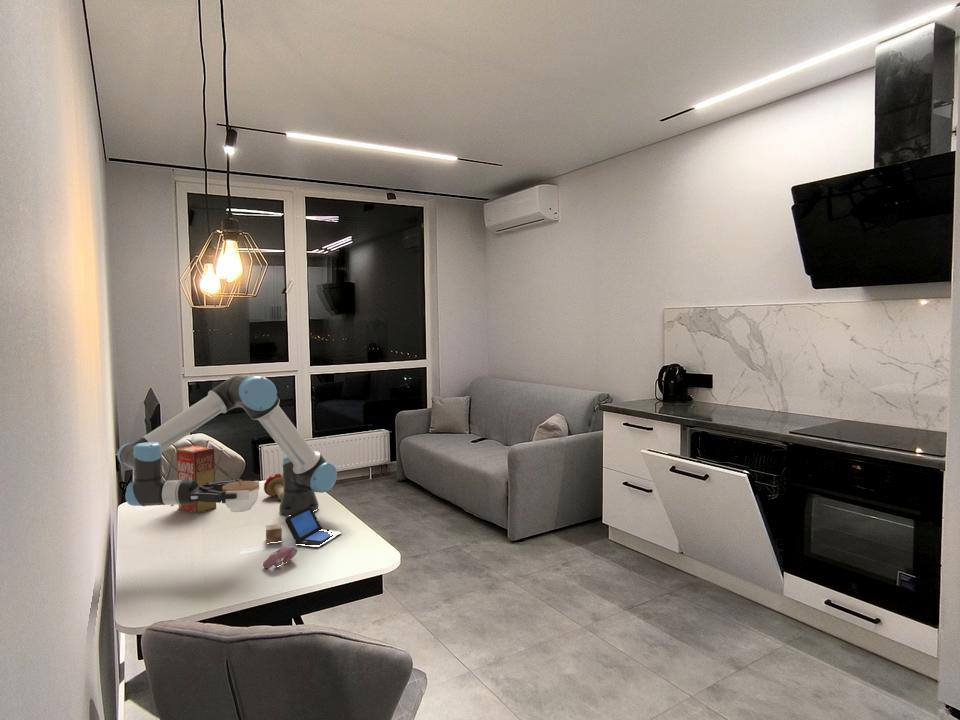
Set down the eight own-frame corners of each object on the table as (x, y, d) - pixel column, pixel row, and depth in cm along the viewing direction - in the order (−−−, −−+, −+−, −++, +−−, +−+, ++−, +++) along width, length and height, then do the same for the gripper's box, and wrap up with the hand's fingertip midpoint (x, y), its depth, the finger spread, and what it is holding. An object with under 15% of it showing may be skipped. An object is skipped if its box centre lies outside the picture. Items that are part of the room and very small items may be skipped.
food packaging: (176, 509, 240) (174, 448, 239) (198, 503, 248) (196, 444, 247) (196, 514, 233) (194, 451, 232) (217, 507, 241) (215, 447, 240)
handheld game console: (318, 549, 194) (318, 522, 194) (284, 545, 198) (283, 518, 198) (343, 534, 209) (342, 508, 209) (310, 530, 213) (309, 505, 213)
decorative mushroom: (290, 482, 248) (278, 464, 259) (267, 498, 244) (255, 479, 255) (302, 498, 255) (289, 479, 266) (279, 514, 251) (268, 495, 262)
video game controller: (269, 576, 176) (276, 557, 174) (260, 567, 178) (266, 548, 176) (295, 565, 185) (301, 547, 183) (286, 556, 187) (292, 538, 185)
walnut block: (281, 537, 205) (281, 523, 205) (281, 542, 201) (281, 528, 200) (266, 539, 204) (265, 525, 203) (266, 544, 199) (266, 530, 199)
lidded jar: (265, 508, 186) (264, 479, 186) (231, 516, 178) (231, 486, 178) (249, 502, 193) (249, 474, 193) (216, 509, 185) (216, 480, 185)
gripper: (196, 494, 195) (264, 491, 198) (165, 515, 172) (243, 512, 174) (195, 471, 195) (263, 469, 197) (164, 490, 172) (242, 487, 174)
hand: (253, 489), depth 186 cm, fingers closed on lidded jar, 11 cm apart
